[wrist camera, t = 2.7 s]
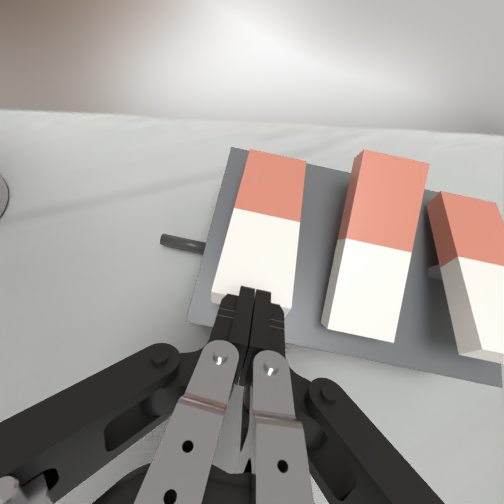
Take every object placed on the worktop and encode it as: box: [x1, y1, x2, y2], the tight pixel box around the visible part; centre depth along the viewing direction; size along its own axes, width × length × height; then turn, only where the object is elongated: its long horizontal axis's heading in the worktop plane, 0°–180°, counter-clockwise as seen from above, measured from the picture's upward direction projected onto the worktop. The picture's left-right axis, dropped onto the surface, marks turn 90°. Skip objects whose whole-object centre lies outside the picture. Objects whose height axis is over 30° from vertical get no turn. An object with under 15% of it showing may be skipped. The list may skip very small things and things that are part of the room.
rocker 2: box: [321, 149, 429, 343], centre depth 20 cm, size 5×13×2 cm, turn 169°
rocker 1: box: [211, 149, 306, 318], centre depth 20 cm, size 5×13×2 cm, turn 169°
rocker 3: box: [427, 191, 504, 364], centre depth 20 cm, size 5×13×2 cm, turn 168°
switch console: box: [160, 147, 502, 388], centre depth 27 cm, size 31×16×11 cm, turn 78°
